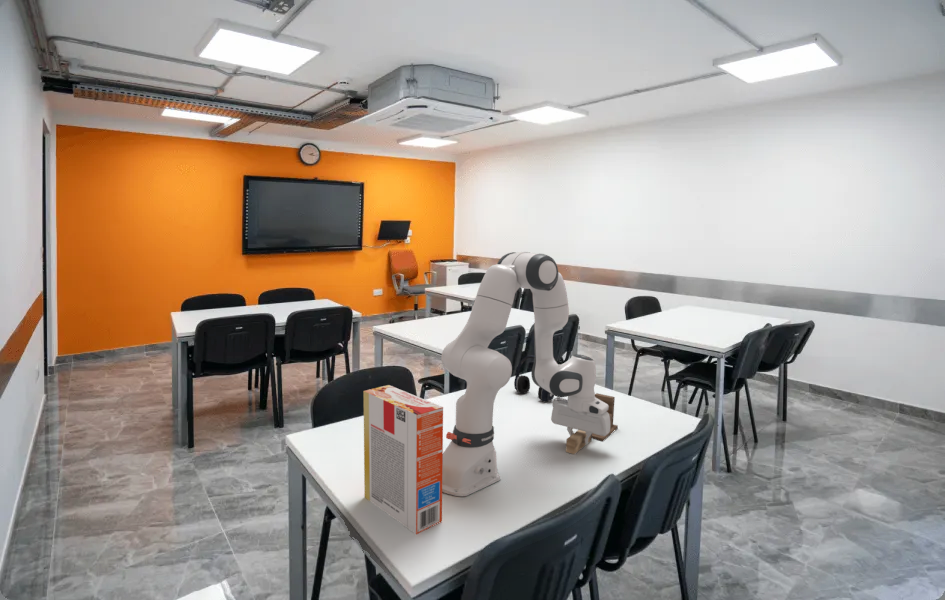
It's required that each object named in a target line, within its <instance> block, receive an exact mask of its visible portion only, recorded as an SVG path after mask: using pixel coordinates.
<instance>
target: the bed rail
mask: <svg viewBox="0 0 945 600" xmlns="http://www.w3.org/2000/svg"><path fill="white" fill-rule="evenodd" d="M576 431H577V432H576ZM576 431H575V432H574V434H573V435H571V436H570V435H569V437H567V438H566V442H565V452H566V453H569V454H572V455H575V454H577V453H578V452H579V451H580V450H582V448H584V447H585V446H587V444H589V443H590V442H591V441H592V440H593V439H592V434H591V435H590V437H589V438H588V443H587V444H584V443H582V438H584V437H586V436H587V435H586V432H585V431H581V430H576Z"/></svg>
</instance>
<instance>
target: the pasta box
mask: <svg viewBox="0 0 945 600" xmlns="http://www.w3.org/2000/svg"><path fill="white" fill-rule="evenodd" d="M362 394H363V458H364V459H363V460H364V461H363V464H364V465H363V466H364V467H363V470H364V471H363V473H364V474H363V475H364V477H363V478H364V498H365V499H366V500H368V501H369V502H370V503H372V504H374V505H375V506H376V507H377V508H379V509H380V510H382V511H383V512H384V513H386V514H387V515H388V516H390V517H391V518H393V519H394V520H395V521H397V522H398V523H400V524H401V525H403V526H404V527H405V528H407V529H408V530H410V532H412V533H414V534H416V535H418V534H420V533H422V532H424V531H425V530H428V529H430V528H432V527H434V526H436V525H438V524H440V523H442V522H441V521H443V520H442V519H443V492H442V464H443V453H444V450H443V449H444V447H443V446H444V445H443V444H444V443H443V442H444V437H443V436H444V406H442V405H440V404H437V403H435V402H431V401H429V400H427V399H424V398H422V397H420V396H417V395H414V394H412V393H409V392H408V391H405V390H402V389H399V387H398V388H397V387H395V386H393V385H390V384H387V385H383V386H378V387H375V388H371V389H370V388H369V389H367V390H363V393H362ZM439 522H440V523H439ZM437 523H438V524H437ZM435 524H436V525H435ZM433 525H434V526H433ZM431 526H432V527H431ZM429 527H430V528H429Z"/></svg>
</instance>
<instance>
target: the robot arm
mask: <svg viewBox="0 0 945 600" xmlns="http://www.w3.org/2000/svg"><path fill="white" fill-rule="evenodd" d="M520 288H522V289H527V290H529V289H530V292H531V294H532V305H533V315H534V316H533V317H534V318H533V319H534V327H533V346H534V347H533V349H534V356H535V358H534V359H533V365H532V368H531V372H530V373H531V379H532V381H533V383H534V384H535V385H536V386H537V387H538V388H539V387H541V388H543V389H545V390H546V391H548V392H549V393H551V394H553V395H554V398H553V399H552V411H551V417H550V419H551V422H552V423H553V424H555V425H558V426H561V427H562V426H563V427H567V429H566V430H567V432H568V434H569V437H570V436H571V435H573V434H574V433H575V432H574V431H573V430H576V431H578V430H581V431H585V432H586V435H587V436H586V437H584V438H582V443H584V444H586V445H588V444H589V443H588V438H589V437H590V435H591V434H592V433H593V434H597V435H601V436H606V435H607V434H608V433H609V432H610V416H609V413H608V412H607V410H608V408H609V406H608V404H606V403H605V402H603V401H601V400H599V399H598V398H596V397H595V394H596V392H595V386H596V382H597V368H596V362H595V360H594V359H593V358H592V357H589V356H587V355H584V354H578V353H577V354H572V355H571V357H570V358H569V359H568V360H567V361H565V362H564V363H561V364H558V362H557V361H556V359H555V358H554V344H553V343H554V341H553V339H554V338H553V337H554V334H555V333H556V332H558V331H560V330H561V329H563V328H564V327H565V326H566V324H567V323H568V321H569V310H570V309H569V300H568V299H569V298H568V293H567V288H566V284H565V281H564V277H563V275H562V274H561V273H560V272H559V267H558V265H557V263H556V261H555V260H554V258H552V257H551V256H550V255H548V254H545V253H535V252H528V251H521V252H518V251H517V252H512V251H511V252H508V253H505V254H504V255H502V256H501V258H499V260H498V261H497V264H492V265H491V266H489V267H488V268H487V270H486V272H484V275H483V278H482V280H481V281H480V284H479V287H478V289H477V292H476V296H475V298H474V302H473V305H472V309H471V311H470V314H469V317H468V319H467V321H466V324H465V326H464V327H463V328H462V330H461V332H460V333H459V335H457V336H456V338H455V339H453V340H452V341H451V342H449V343H448V344H446V345H445V347H444V348H443V350H442V352H441V359H440V360H441V364H442V366H443V368H444V369H445V370H446V371H447V372H449V373H450V374H451V375H453V377H456V378H458V379H459V378H460V379H462V380H465V381H466V389H465V391H464V394H462V395H461V396H460V397H458V399H457V400H456V402H455V425H454V427H453V430H452V432H450V431H447V433H446V435H445V437H446V439H447V440H450V442H449V444H447V445H448V446H447V447H446V448H445V449H444V450H443V464H442V493H444V494H448V495H449V496H454V497H455V496H456V497H467V496H469V495H471V494H473V493H475V492H477V491H481V490H482V489H484V488H486V487H488V486H490V485H493V484H494V483H497V482H499V481H500V480H501V475H500V474H499V472H498V463H497V459H498V458H497V451H496V448H495V446H494V442H493V440H495V439H494V438H495V437H494V436H495V431H494V430H495V427H494V426H493V422H494V421H493V418H494V403H495V399H496V397H497V395H498V393H499V391H500V390H501V389H502V388H504V387H505V386H506V385H507V384H508V383H509V381H510V379H511V378H512V372H513V366H512V363H511V360H510V359H509V358H508V357H507V356H506V355H504V354H503V353H500V352H499V351H497V350H495V349H491V348H489V346H490V344H491V342H492V341H493V340H494V339H495V338H496V337H497V336H499V335H501V334H503V333H504V331H505V330H506V327H507V324H508V321H509V318H510V315H511V310H512V308H513V305H514V301H515V300H514V299H515V297H516V296H515V294H516V293H517V291H518V290H519V289H520ZM565 397H566V398H565Z"/></svg>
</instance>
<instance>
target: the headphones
mask: <svg viewBox="0 0 945 600" xmlns="http://www.w3.org/2000/svg"><path fill="white" fill-rule="evenodd" d="M534 358H535V354H534V355H531V354H530V355H527V356H525V357H523V358H522V359H521V360H520V362H519V363H518V365H517V367H516V373H515V377H514V381H513V382H514V383H513V385H514V389H515V390H516V392H517V394H527V393H528V392H529V391H530V389H531V383H530V382H531V381H530V378H529V377H528V376H527V375H522V374H521V375H520V371H521V367H522V365H523V363H525V361H527V360H528V359H533V360H534ZM537 398H538V399H539V400H540V401H541V402H548V401H550V402H551V401H553V399H555V396H554V395H553V394H551V393H549V392H548V391H546V390H545V389H543V388H541V387H539V386H538V390H537Z"/></svg>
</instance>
